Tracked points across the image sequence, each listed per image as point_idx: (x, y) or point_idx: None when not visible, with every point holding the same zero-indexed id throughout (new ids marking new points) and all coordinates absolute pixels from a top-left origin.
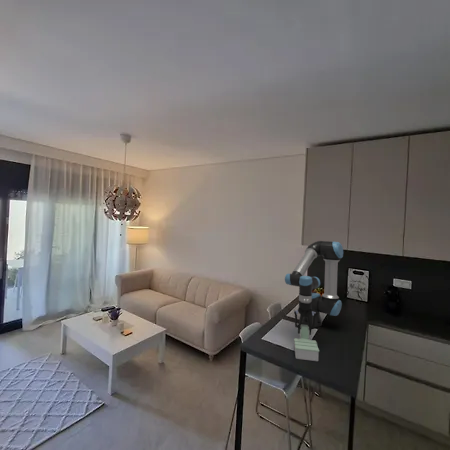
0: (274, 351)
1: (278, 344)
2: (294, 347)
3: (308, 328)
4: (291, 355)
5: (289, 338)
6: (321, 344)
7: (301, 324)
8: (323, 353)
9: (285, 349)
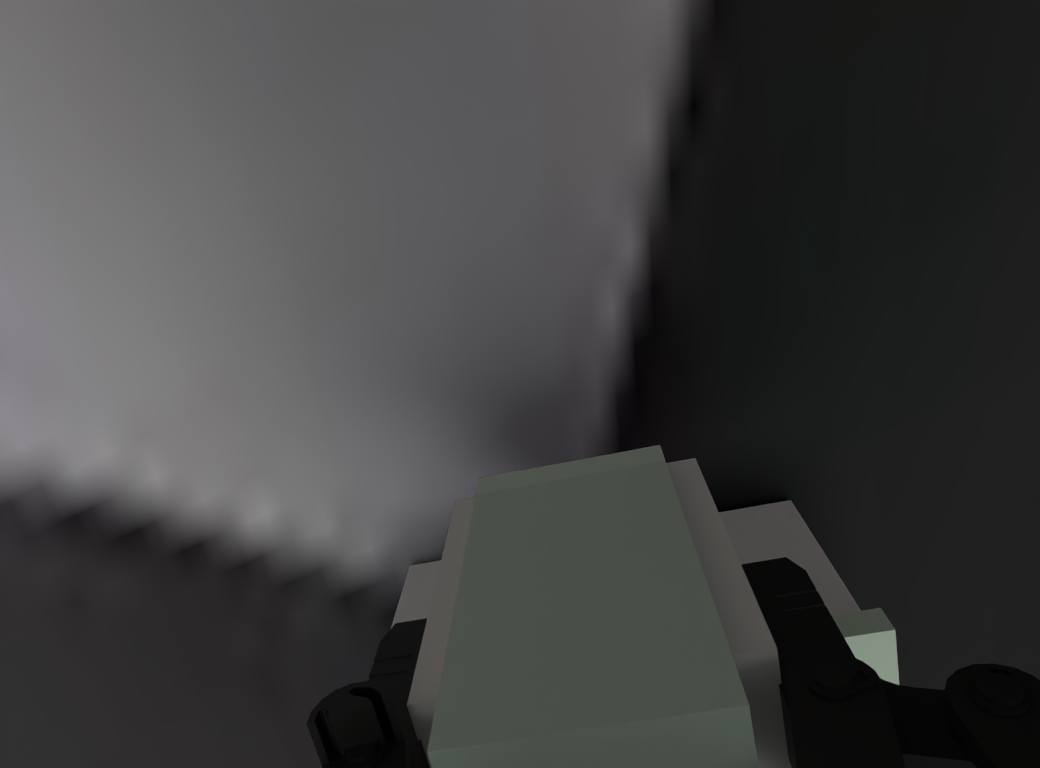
0: (123, 733)
1: (80, 479)
2: (403, 591)
3: (759, 665)
4: None
5: (181, 72)
6: (965, 45)
7: (451, 750)
8: (950, 469)
9: (261, 606)
